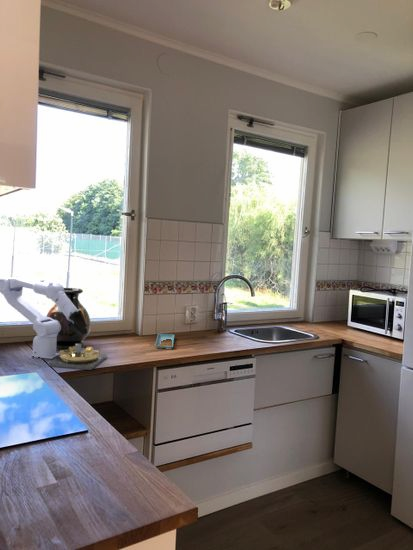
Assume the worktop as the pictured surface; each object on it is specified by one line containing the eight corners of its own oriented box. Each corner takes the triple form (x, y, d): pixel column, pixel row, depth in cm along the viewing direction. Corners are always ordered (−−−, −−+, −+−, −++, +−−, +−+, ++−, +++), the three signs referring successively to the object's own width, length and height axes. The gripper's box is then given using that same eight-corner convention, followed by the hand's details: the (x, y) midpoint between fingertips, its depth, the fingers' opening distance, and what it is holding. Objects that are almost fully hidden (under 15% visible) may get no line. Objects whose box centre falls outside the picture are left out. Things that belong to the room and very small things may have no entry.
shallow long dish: (172, 350, 222) (173, 345, 222) (154, 349, 222) (154, 344, 222) (174, 338, 249) (174, 334, 248) (157, 338, 248) (158, 333, 248)
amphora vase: (97, 349, 215) (99, 291, 213) (53, 354, 201) (55, 292, 199) (78, 339, 231) (80, 286, 229) (36, 343, 218) (38, 287, 216)
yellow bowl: (53, 360, 185) (53, 343, 184) (68, 351, 201) (69, 335, 200) (90, 364, 183) (91, 346, 183) (103, 354, 199) (104, 338, 199)
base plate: (48, 366, 183) (48, 362, 183) (68, 354, 203) (68, 350, 203) (91, 369, 181) (91, 365, 181) (106, 357, 201) (106, 353, 201)
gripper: (73, 294, 188) (92, 319, 185) (75, 307, 200) (93, 330, 197) (58, 304, 185) (78, 328, 182) (61, 316, 197) (79, 340, 194)
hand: (85, 330), depth 189 cm, fingers open, 7 cm apart
